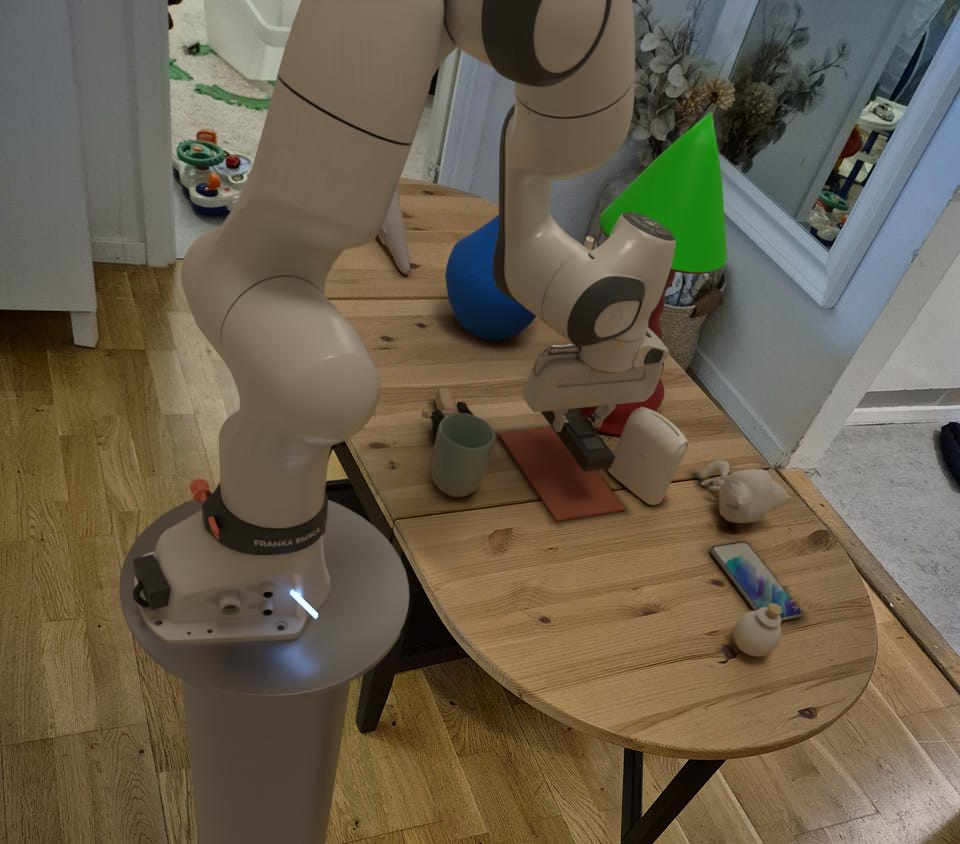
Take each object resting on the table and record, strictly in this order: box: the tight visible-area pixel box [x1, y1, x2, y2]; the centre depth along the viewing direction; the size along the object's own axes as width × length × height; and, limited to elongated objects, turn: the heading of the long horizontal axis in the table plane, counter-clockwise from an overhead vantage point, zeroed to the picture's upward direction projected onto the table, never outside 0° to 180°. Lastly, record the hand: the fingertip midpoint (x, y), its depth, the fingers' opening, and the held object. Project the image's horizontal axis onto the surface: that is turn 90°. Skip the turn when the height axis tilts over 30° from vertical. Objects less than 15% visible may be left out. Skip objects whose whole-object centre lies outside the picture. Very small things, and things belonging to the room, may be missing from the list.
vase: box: [444, 214, 537, 341], centre depth 138 cm, size 18×18×30 cm
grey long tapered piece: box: [378, 184, 411, 276], centre depth 161 cm, size 8×9×26 cm
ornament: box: [732, 596, 804, 657], centre depth 107 cm, size 6×7×10 cm
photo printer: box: [607, 407, 689, 506], centre depth 124 cm, size 10×4×12 cm, turn 41°
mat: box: [498, 426, 626, 523], centre depth 126 cm, size 12×20×1 cm, turn 24°
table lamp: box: [579, 111, 728, 436], centre depth 125 cm, size 20×20×45 cm
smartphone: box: [709, 540, 803, 622], centre depth 119 cm, size 7×1×15 cm
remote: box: [540, 408, 615, 472], centre depth 121 cm, size 15×5×2 cm, turn 24°
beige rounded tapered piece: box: [695, 460, 791, 524], centre depth 128 cm, size 10×8×15 cm
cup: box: [430, 412, 496, 498], centre depth 115 cm, size 8×8×10 cm
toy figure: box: [421, 387, 474, 438], centre depth 125 cm, size 7×6×15 cm
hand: (576, 427), depth 120 cm, fingers closed on remote, 4 cm apart
